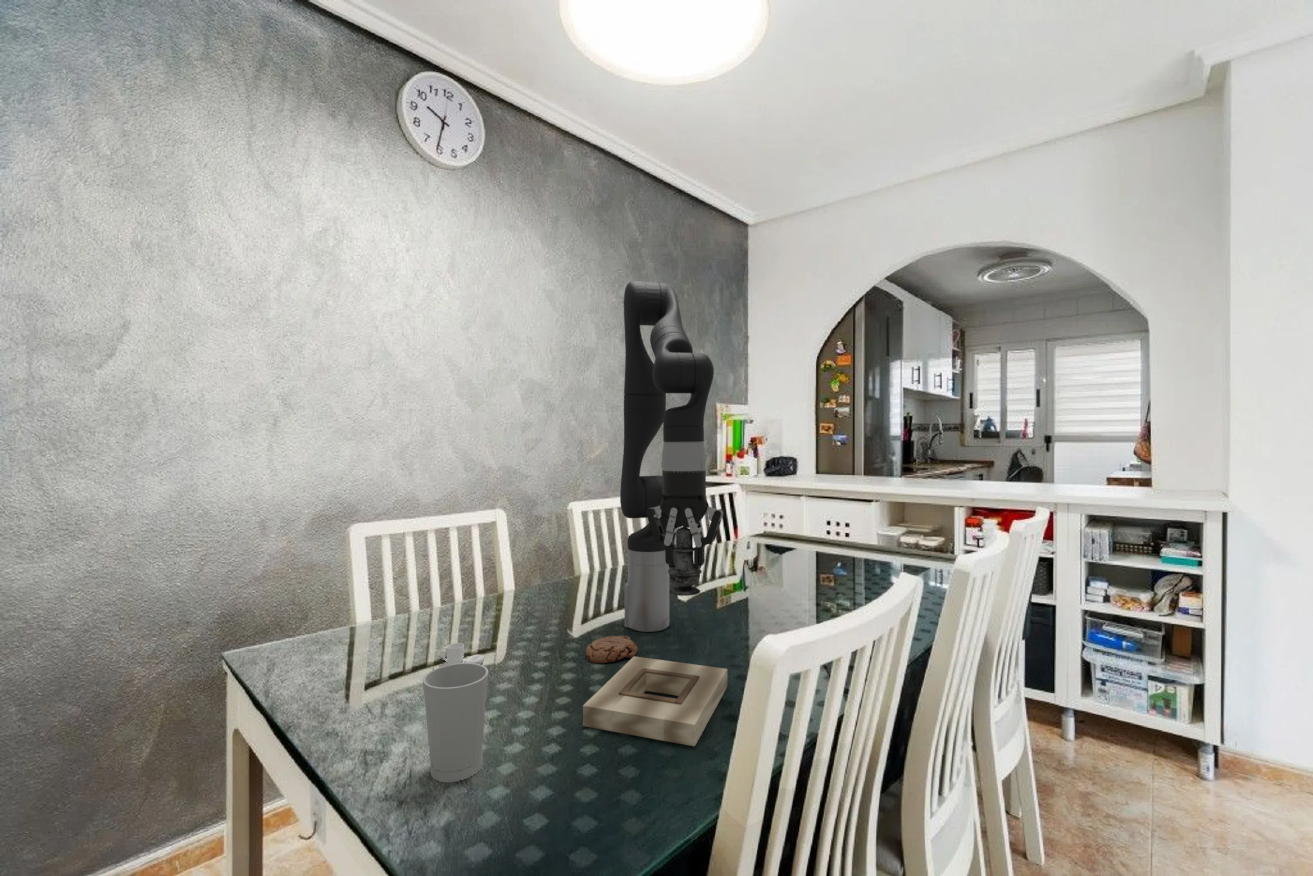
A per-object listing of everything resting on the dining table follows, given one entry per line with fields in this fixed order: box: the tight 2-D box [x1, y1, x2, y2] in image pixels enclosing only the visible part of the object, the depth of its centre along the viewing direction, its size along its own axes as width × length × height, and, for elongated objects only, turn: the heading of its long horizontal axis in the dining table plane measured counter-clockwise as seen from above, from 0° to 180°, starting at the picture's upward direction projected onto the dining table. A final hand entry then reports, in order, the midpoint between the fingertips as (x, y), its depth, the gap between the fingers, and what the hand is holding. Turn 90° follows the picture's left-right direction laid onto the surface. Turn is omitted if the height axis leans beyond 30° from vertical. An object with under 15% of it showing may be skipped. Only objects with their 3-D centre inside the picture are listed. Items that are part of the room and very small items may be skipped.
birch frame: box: [582, 655, 728, 747], centre depth 93 cm, size 17×20×3 cm
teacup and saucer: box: [440, 642, 485, 665], centre depth 109 cm, size 9×8×4 cm
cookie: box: [585, 635, 639, 664], centre depth 114 cm, size 10×11×3 cm
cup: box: [422, 662, 489, 783], centre depth 76 cm, size 8×8×12 cm
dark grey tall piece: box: [668, 526, 702, 597], centre depth 102 cm, size 6×6×12 cm
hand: (684, 567), depth 102 cm, fingers closed on dark grey tall piece, 4 cm apart
